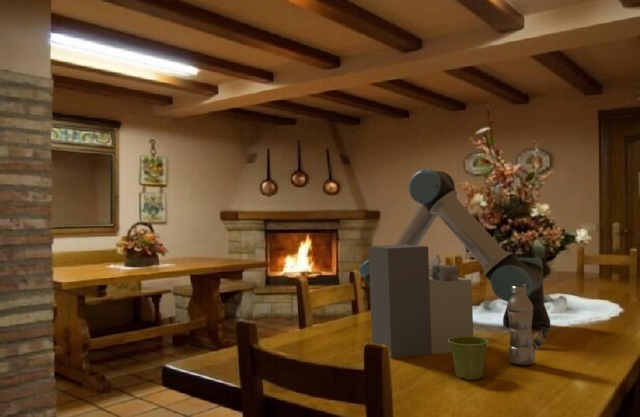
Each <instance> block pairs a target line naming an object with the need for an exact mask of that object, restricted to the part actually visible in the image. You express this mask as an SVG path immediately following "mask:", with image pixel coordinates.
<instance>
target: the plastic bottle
mask: <svg viewBox="0 0 640 417" xmlns="http://www.w3.org/2000/svg"><path fill="white" fill-rule="evenodd" d="M511 292H512V293H513V295H512V297H511V298H510V300H509V301H508V302H507V303H508V304H506V307H507V310H508V317H509V324H510V328H509V346H508V359H509V361H510V362H511V363H512V364H515V365H519V366H529V365H532V364H533V363H534V362H535V359H536V353H535V350H536V349H535V348H534V346H533V343H534V341H533V330H532V329H531V328H532V315H533V305H532V303H531V301H530V300H529V298H528V297H527V296H526V293H527V287H526V285H512V291H511Z"/></svg>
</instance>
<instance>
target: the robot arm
mask: <svg viewBox="0 0 640 417" xmlns="http://www.w3.org/2000/svg"><path fill="white" fill-rule="evenodd" d="M408 193H409V195H410V197H411V199H412V200H413V201H415V202H416V203H418V204H419V206H418V207H417V208H416V209H415V210H416V211H415V212H414V213H413V215H412V217H411V218H410V220H409V222H408V223H407V225H406V226H405V227H404V230H403V231H402V232H401V234H400V236H399V237H398V239H397V240H396V242H395V244H394V245H404V244H406V245H417V246H419V245H420V243H421V241H422V240H423V238H424V237H425V235H426V233H427V232H428V231H429V229H430V228H431V227H432V224H433V223H434V222H435V220H436V218H437V217H439V218H440V219H441V221H442V222H444V224H445V225H446V226H447V227H448V228H449V230H450V231H451V232H452V234H454V236H455V237H456V238H457V239H458V240H459V241H460V243H462V244H463V245H464V247H466V249H467V251H469V252H470V254H471V255H472V256H473V257H474V258H475V259H476V261H477V262H478V263H479V264H480V265H481V266H482V267H483V269H484V270H483V275H484V277H485V278H486V279H487V280H488V281H489V282H490V286H491V290H492V291H493V293H494V294H495V295H496V296H497V298H499V299H500V300H502V301H505V302H507V304H508V301H509V300H510V298H511V297H512V295H513V293H512V292H511V291H512V285H526V287H527V293H526V296H527V297H528V298H529V300H530V301H531V303H532V305H533V315H532V328H531V329H532V331H538V330H540V331H541V327H544V328H547V329H550V328H551V319H550V316H549V313H548V310H547V307H546V306H545V299H544V291H545V290H544V266H543V262H542V260H541V259H540V258H535V257H517V256H516V255H515V253H513V251H506V250H504V248H503V247H502V246H501V245H500V244H499V243H498V242H497V241H496V240H495V239H494V237H492V235H491V234H490V233H489V232H488V231H487V229H486V228H484V227H483V225H482V224H481V223H480V222H479V221H478V220H477V219H476V218H475V217H474V215H473V214H472V213H471V212H470V211H469V210H468V208H466V207H465V205H463V204H462V202H461V201H460V200H459V199H458V191H457V190H456V186H455V181H454V179H453V177H452V176H451V175H450V174H448V173H447V172H444V171H441V170H434V169H432V168H427V169H425V168H424V169H421V170H419V171H417V172H415V173H414V174H413V175H412V176H411V178H410V180H409V183H408ZM441 263H442V261H441V258H440V255H439V254H436V255H435V256H434V257H433V259H431V261H430V262H429V266H436V265H440V264H441ZM358 272H359V274H360V275H361V277H362V278H363V280H364V281H365V282H366V284H367V285H368V286H369V287H370V273H369V259H367V260H365V261H364V262H363V263H362V264H361V265H360V266H359V268H358ZM507 304H506V305H507ZM502 325H503V326H504V327H505V326H506V328H508V327H509V328H508V329H510V324H509V317H508V310H507V306H506V308H505V311H504V313H503V317H502Z"/></svg>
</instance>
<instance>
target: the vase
mask: <svg viewBox="0 0 640 417" xmlns="http://www.w3.org/2000/svg"><path fill="white" fill-rule="evenodd" d="M549 332H550V330H549V328H544V327H541V330H540V331H538V332H535V333H534V335H533V336H532V340H533V346H534V350H536V351H541V348H540V346H543V345H544V344H546V342H547V334H549Z"/></svg>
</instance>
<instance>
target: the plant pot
mask: <svg viewBox="0 0 640 417" xmlns="http://www.w3.org/2000/svg"><path fill="white" fill-rule="evenodd" d="M448 343H450V348H451V349H452V352H451V353H452V359H453V364H454V369H455V376H456V377H457V378H458V379H465V380H467V381H476V380H479V379H481V378H483V377H484V369H485V368H484V367H485V357H486V350H487V346H488V344H489V340H488V339H487V338H484V337H480V336H478V337H477V336H473V337H468V336H464V337H453V338H450V339H448Z"/></svg>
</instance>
